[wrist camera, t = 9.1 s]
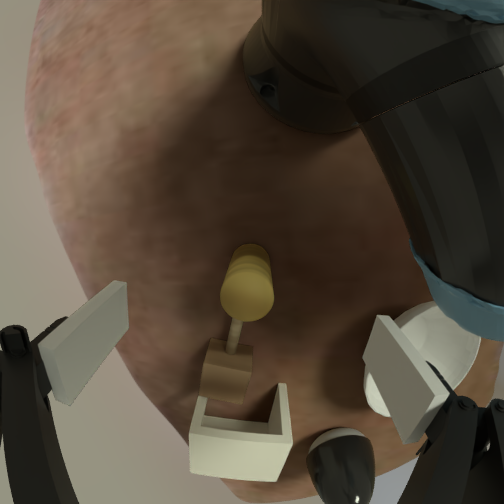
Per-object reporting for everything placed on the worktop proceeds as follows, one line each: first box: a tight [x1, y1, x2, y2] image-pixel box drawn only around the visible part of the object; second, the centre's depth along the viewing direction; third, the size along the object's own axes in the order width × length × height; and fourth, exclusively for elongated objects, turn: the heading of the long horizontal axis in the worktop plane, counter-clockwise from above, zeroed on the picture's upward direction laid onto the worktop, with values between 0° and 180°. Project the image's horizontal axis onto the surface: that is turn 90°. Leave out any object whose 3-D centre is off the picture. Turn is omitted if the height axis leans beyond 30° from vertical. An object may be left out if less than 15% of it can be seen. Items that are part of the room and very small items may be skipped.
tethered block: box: [198, 244, 274, 404], centre depth 27 cm, size 17×5×9 cm, turn 167°
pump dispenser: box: [306, 428, 375, 504], centre depth 30 cm, size 10×10×15 cm
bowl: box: [363, 301, 481, 417], centre depth 29 cm, size 16×16×7 cm
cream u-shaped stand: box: [189, 383, 293, 482], centre depth 30 cm, size 9×10×10 cm
